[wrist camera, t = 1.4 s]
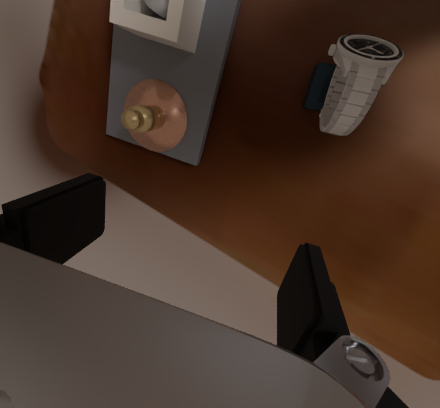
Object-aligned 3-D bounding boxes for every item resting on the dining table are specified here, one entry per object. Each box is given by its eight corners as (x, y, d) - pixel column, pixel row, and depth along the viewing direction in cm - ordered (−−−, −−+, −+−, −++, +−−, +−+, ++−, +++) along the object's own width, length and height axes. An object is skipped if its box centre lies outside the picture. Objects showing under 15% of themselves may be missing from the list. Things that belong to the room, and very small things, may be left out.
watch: (373, 55, 25) (435, 25, 15) (342, 132, 29) (376, 147, 19) (320, 46, 26) (346, 10, 16) (296, 122, 29) (305, 131, 19)
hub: (128, 70, 30) (94, 62, 24) (194, 91, 29) (174, 88, 24) (121, 139, 34) (90, 146, 28) (179, 160, 33) (159, 171, 27)
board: (127, -54, 26) (92, -91, 21) (246, -21, 25) (239, -52, 20) (112, 132, 35) (85, 137, 30) (199, 163, 34) (186, 173, 29)
